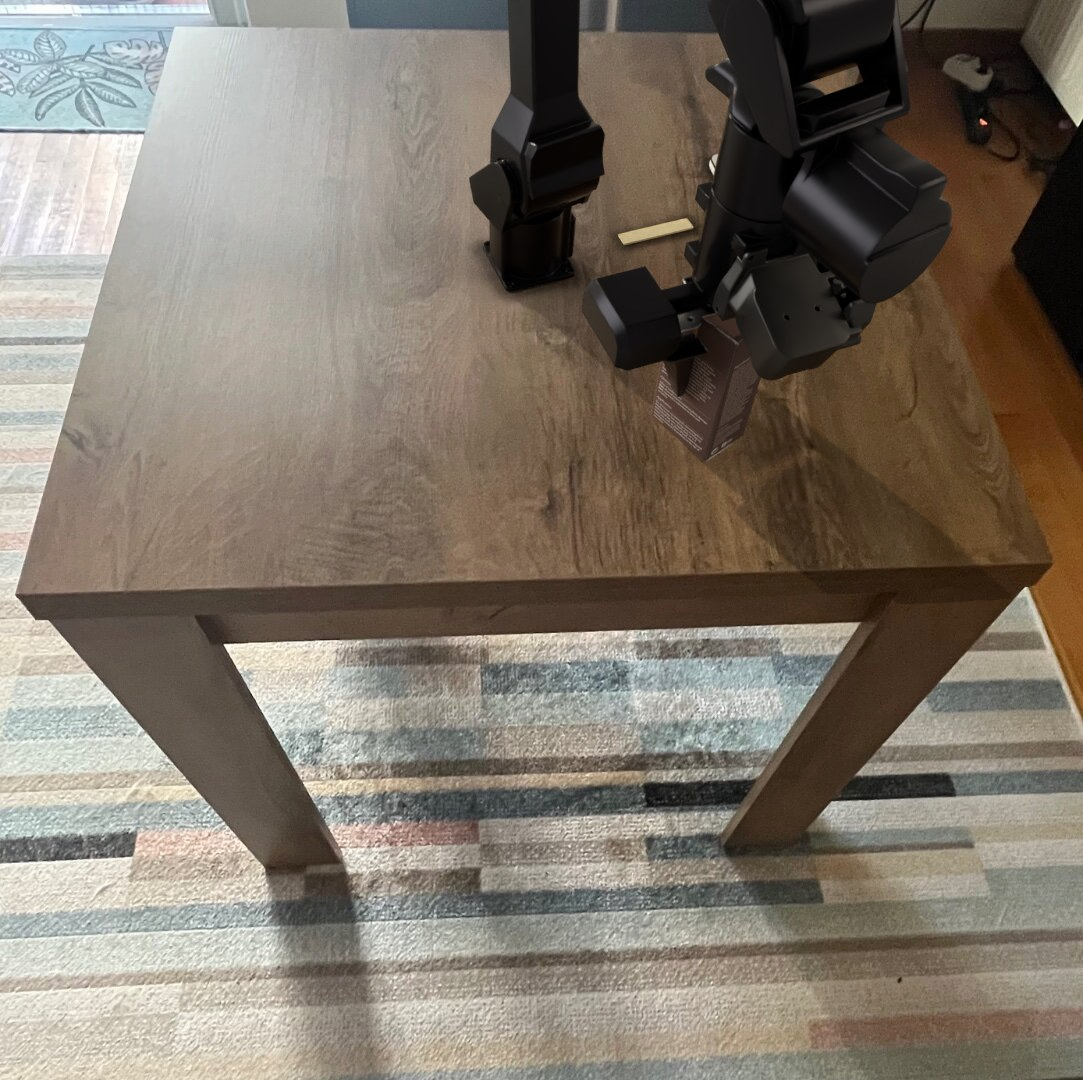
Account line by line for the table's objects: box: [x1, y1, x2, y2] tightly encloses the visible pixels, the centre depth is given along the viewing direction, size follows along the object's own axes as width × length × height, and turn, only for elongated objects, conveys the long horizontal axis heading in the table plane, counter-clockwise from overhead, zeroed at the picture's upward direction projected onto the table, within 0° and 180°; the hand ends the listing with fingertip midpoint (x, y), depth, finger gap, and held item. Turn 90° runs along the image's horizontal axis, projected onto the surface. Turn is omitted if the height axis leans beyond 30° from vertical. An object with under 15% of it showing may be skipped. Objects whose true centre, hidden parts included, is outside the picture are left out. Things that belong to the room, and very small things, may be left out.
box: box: [650, 316, 762, 463], centre depth 65 cm, size 6×4×12 cm
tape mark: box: [617, 217, 694, 246], centre depth 86 cm, size 7×1×1 cm, turn 112°
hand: (710, 382), depth 66 cm, fingers closed on box, 5 cm apart
